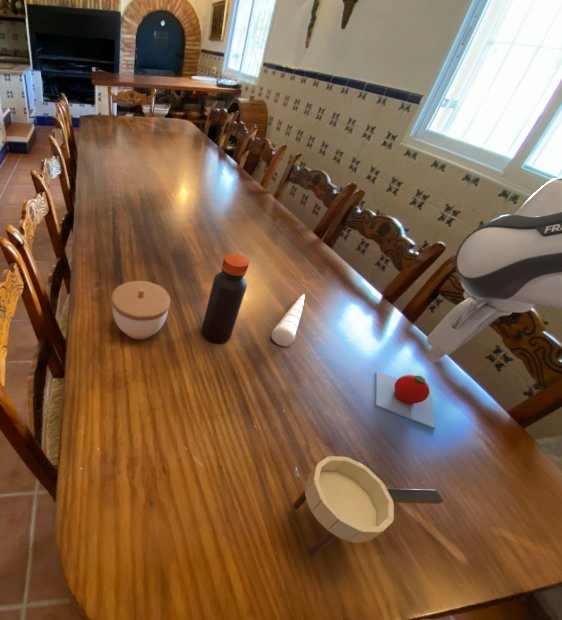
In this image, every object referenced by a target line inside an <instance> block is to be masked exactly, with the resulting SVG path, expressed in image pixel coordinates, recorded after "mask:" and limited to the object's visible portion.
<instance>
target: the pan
mask: <svg viewBox="0 0 562 620" xmlns="http://www.w3.org/2000/svg"><path fill="white" fill-rule="evenodd" d="M443 502H444V499H443V498H442V496H441V494H440V493H439V491H438V490H437V489H429V488H427V489H426V488H425V489H424V488H421V489H420V488H418V489H417V488H387V487H386V485H385V483H384V482H383V481H382V479H380V477H378V476H377V475H376V474H375V473H374V472H373V471H372V470H371V469H370V468H369V467H368V466H366V465H365V464H364V463H361V462H358V461H357V460H354V459H352V458H350V457H348V456H339V455H338V456H335V455H329V456H326V457H325V458H323V459H322V460H321V461H319V462H318V463H317V464H316V465H315V466H314V467H313V468H312V470H311V471H310V472H309V474H308V475H307V478H306V481H305V483H304V490H303V491H302V492H301V494H300V495H299V496H298V498H297V499H296V500H294V502H293V503H292V508H293V510H296V511H299V510H300V508H301V506H302V505H304V503H306V504H307V505H308V508H309V510H310V512H311V513H312V515H313V516H314V518H315V519H316V521H318V522H319V524H320V525H321V526H322V527H323V528H325V530H327V532H326V533H325V534H323V536H322V537H320V539H318V540H317V541H316V542H315V543H314V544H313V545H312V546H311V547H310V548H308V549H307V555H308V556H309V557H311V558H314V557H315V556H316V555H318V554H319V552H321V551H322V550H323V549H324V548H325V547H326V546H327V545H329V544H330V543H331V542H333V540H334V539H336V538H339V539H341V540H343V541H347V542H350V543H356V544H359V543H361V544H362V543H367V542H370V541H372V540H374V539H376V537H378V536H379V535H381V534H382V533H383V532H384V531H385V530H386V529H387V528H389V526H391V525H392V524H393V523H394V520H395V513H394V512H395V504H432V505H433V504H434V505H436V504H437V505H438V504H440V505H441V503H443Z"/></svg>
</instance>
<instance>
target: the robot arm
mask: <svg viewBox="0 0 562 620" xmlns="http://www.w3.org/2000/svg"><path fill="white" fill-rule="evenodd" d="M454 268H455V271H456V274H457V276H458V279H459V280H460V285H461V288H462V289H463V290H464V291H463V292H462V296H463V298H464V300H463V301H461V302H459V303H458V304H457V305H455V306H454V308H452V309H451V310H450V311H449V312H448V313H447V314H446V315H445V316H444V317H443V318H442V319H441V321H440V322H439V323H437V325H436V326H435V327H434V329H433V330H432V331H431V332H430V333H429V334H428V336H427V337H426V339H425V343H426V344H427V345H429V346H430V349H429V351H428V352H427V353H426V354H425V358H426V359H427V360H429V361H430V362H432V363H435V364H436V363H438V362H439V361H441V360H442V359H443V358H444V356H450V355H451V354H453V353H454V352H455V351H457V350H458V349H459V348H460V347H462V346H463V345H464V344H466V343H467V342H469V341H470V340H472V338H474V337H476V336H477V335H478V334H479V333H480V332H482V331H483V330H484V329H486V328H487V327H488V326H490V325H491V324H493V322H494V321H496V320H497V319H498V318H500V317H505V316H506V317H507V316H511V314H513V313H527V312H529V311H531V309H533V308H534V307H535V306H542V307H547V308H553V309H558V310H562V176H561V177H557V178H556V177H555V178H552V179H550V180H549V181H547V182H546V183H545V184H544V185H542V186H541V187H540V188H539V189H537V190H536V191H535V192H534V193H533V194H532V195H531V196H530V197H529V198H528V199H527V200H526V201H525V202H524V203H523V204H522V205H521V206H520V207H519V208H518V209H517V211H516V212H515V213H514V214H510V213H509V214H504V215H500V216H497V218H494V219H492V220H490V221H487V222H485V223H484V224H482V225H480V226H479V227H478V228H476V229H475V230H473V231H472V232H471V233H469V234H468V235H467V236H466V237H465V238H464V239H463V241H462V242H461V243H460V245H459V247H458V248H457V251H456V254H455V258H454Z"/></svg>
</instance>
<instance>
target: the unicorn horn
mask: <svg viewBox="0 0 562 620" xmlns="http://www.w3.org/2000/svg"><path fill="white" fill-rule="evenodd" d="M305 296H306V295H305V293H303V294H301V295H300V296H299V298H297V300H296V301H295V302H294V304H293V305H292V306H291V307H290V309H288V311H287V312H286V313H285V315H283V318H281V320H280V321H279V322H278V323H277V324H276V326H275V327H274V329H273V330H272V333H271V339H272V341H273V342H274V343H275V344H277V345H278V346H281V347H288V346H290V345H292V344H293V343H294V340H295V339H296V336H297V335H296V334H297V331H298V328H299V324H300V320H301V317H302V313H303V310H304V309H303V308H304V304H305V299H306V297H305Z"/></svg>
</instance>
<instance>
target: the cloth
mask: <svg viewBox="0 0 562 620" xmlns="http://www.w3.org/2000/svg"><path fill="white" fill-rule="evenodd" d="M398 379H399V378H397V377H395V376H391V375H390V374H386V373H384V372H380V371H378V370H376V371H375V407H377V408H380V409H381V410H382V409H383V410H385V411H387V412H389V413H392V414H395V415H397V416H400V417H402V418H405V419H407V420H409V421H412V422H415V423H416V424H417V423H418V424H420V425H422V426H426V427H428V428H430V429H433V430H435V429H436V421H435V414H434V408H433V401H432V393H431V390H430V389H429V395H428V397H427V398H426V399H425V400H424V401H422V402H420V403H414V404H412V405H407V404H404V403H402V402H400V401H399V400H398V399H397V398H396V397H395V395H394V392H395V388H394V387H395V383H396V381H397V380H398Z"/></svg>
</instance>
